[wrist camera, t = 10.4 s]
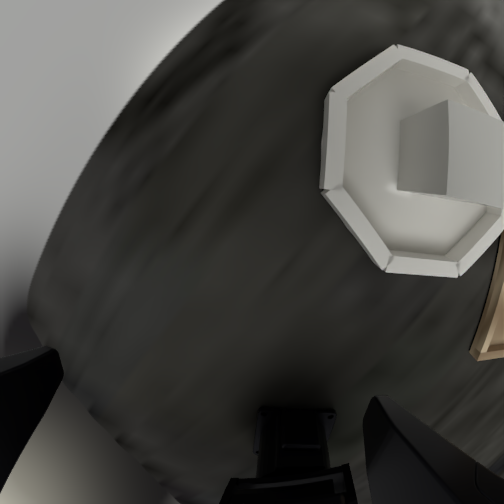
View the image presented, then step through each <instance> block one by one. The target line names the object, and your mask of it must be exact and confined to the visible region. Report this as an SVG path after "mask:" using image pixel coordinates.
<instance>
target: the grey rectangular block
mask: <svg viewBox="0 0 504 504" xmlns="http://www.w3.org/2000/svg"><path fill="white" fill-rule="evenodd" d="M397 190H398V191H405V192H410V193H416V194H422V195H427V196H433V197H438V198H443V199H448V200H455V201H461V202H467V203H473V204H479V205H484V206H490V207H495V208H500V209H503V207H504V122H503V121H500V120H498V119H496V118H494V117H492V116H489V115H487V114H485V113H482V112H480V111H478V110H475V109H473V108H470V107H468V106H465V105H462V104H460V103H457V102H454V101H452V100H449V99H447V100H445V101H442V102H440V103H438V104H436V105H433V106H431V107H429V108H427V109H424V110H422V111H420V112H418V113H416V114H413V115H411V116H409V117H407V118H405V119H403V120H401V121H400V145H399V166H398V181H397Z"/></svg>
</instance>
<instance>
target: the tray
mask: <svg viewBox="0 0 504 504" xmlns="http://www.w3.org/2000/svg"><path fill="white" fill-rule="evenodd" d="M469 353H470V354H471V355H472V356H473V357H474V358H475V359H476V360H477V361H481V360H488V359H495V358H501V357H504V230H503V231H502V232H501V238H500V244H499V250H498V255H497V260H496V265H495V270H494V274H493V278H492V282H491V286H490V290H489V294H488V297H487V301H486V304H485V308H484V311H483V314H482V318H481V321H480V324H479V327H478V330H477V332H476V335H475V338H474V341H473V343H472V346H471V349H470V351H469Z"/></svg>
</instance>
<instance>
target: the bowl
mask: <svg viewBox="0 0 504 504" xmlns="http://www.w3.org/2000/svg"><path fill="white" fill-rule="evenodd" d="M447 99H449V100H452V101H454V102H457V103H460V104H462V105H465V106H468V107H470V108H473V109H475V110H478V111H480V112H482V113H485V114H487V115H489V116H492V117H494V118H496V119H498V120H500V121H502V120H501V118H500V116H499V115H498V113H497V111H496V109H495V108H494V106H493V104H492V103H491V101H490V100H489V98H488V96H487V95H486V93H485V92H484V90H483V89H482V87H481V86H480V84H479V83H478V81H477V80H476V78H475V77H474V75H473V74H472V73H469V71H468V69H465V68H463V67H461V66H458V65H456V64H454V63H451V62H449V61H446V60H444V59H441V58H438V57H436V56H433V55H430V54H427V53H424V52H421V51H418V50H415V49H412V48H409V47H405V46H402V45H399V44H397V45H396V46H395V45H392V46H391V47H389V48H388V49H386V50H385V51H383V52H382V53H380V54H379V55H377V56H376V57H374V58H373V59H371V60H370V61H368V62H367V63H365V64H364V65H362V66H361V67H359V68H358V69H356V70H355V71H354V72H352V73H351V74H349V75H348V76H347V77H345V78H344V79H342V80H341V81H340V82H338V83H337V84H335V85H334V86H333V87H331V89H330V91H329V92H328V94H327V96H326V98H325V100H324V123H323V132H322V140H321V170H320V183H319V188H320V189H325V190H323V191H322V192H321V194H322V196H323V197H324V198H325V199H326V201H327V202H328V203H329V204H330V206H331V207H332V208H333V209H334V211H335V212H336V213H337V214H338V216H339V217H340V219H341V220H342V222H343V223H344V224H345V226H346V227H347V229H348V230H349V231H350V232H351V233H352V234H353V235H354V237H355V238H356V239H357V241H358V242H359V243H360V245H361V246H362V248H363V249H364V250H365V252H366V253H367V254H368V256H369V257H370V259H371V260H372V261H373V263H375V264H376V265H377V266H378V267H379V268H380V269H381V270H384V271H385V272H388V273H401V274H414V275H427V276H441V277H455V278H458V275H459V276H462V275H463V274H464V273H465V272H466V271H467V270H468V269H469V268H470V267H471V265H472V264H473V263H474V262H475V261H476V260H477V259H478V258H479V257H480V256H481V255H482V254H483V253H484V252H485V251H486V250H487V248H488V247H489V246H490V245H491V244H492V243H493V242H494V241H495V239H496V238H497V237H498V236H499V235H500V234H501V232H502V231H503V230H504V207H503V209H500V208H495V207H490V206H484V205H479V204H473V203H467V202H461V201H455V200H448V199H443V198H438V197H433V196H427V195H422V194H416V193H410V192H405V191H398V190H397V181H398V166H399V145H400V121H401V120H403V119H405V118H407V117H409V116H411V115H413V114H416V113H418V112H420V111H422V110H424V109H427V108H429V107H431V106H433V105H436V104H438V103H440V102H442V101H445V100H447Z"/></svg>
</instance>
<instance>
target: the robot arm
mask: <svg viewBox="0 0 504 504" xmlns="http://www.w3.org/2000/svg"><path fill="white" fill-rule="evenodd" d="M63 375H64V371H63V367H62V364H61V360H60V357H59V353H58V351H57V350H56V349H54V348H51V347H48V346H44V347H40V348H36V349H33V350H29V351H25V352H21V353H18V354H14V355H10V356H6V357H2V358H0V493H1V491H2V489H3V487H4V485H5V483H6V481H7V479H8V477H9V475H10V473H11V471H12V469H13V467H14V466H15V464H16V462H17V460H18V458H19V457H20V455H21V453H22V451H23V450H24V448H25V446H26V444H27V443H28V441H29V439H30V437H31V436H32V434H33V432H34V430H35V429H36V427H37V426H38V424H39V423H40V421H41V419H42V418H43V416H44V414H45V412H46V410H47V409H48V407H49V404H50V402H51V400H52V398H53V396H54V394H55V392H56V390H57V389H58V387H59V385H60V383H61V381H62V379H63ZM262 412H266V413H262ZM329 415H331V416H329ZM336 416H337V415H336V412H335V411H334V410H314V409H288V408H273V407H261V408H260V409H259V410H258V417H257V425H256V433H255V441H254V448H253V453H254V454H255V455H258V462H257V472H256V478H245V479H239V478H231V479H230V481H229V483H228V486H227V487H226V489H225V492H224V494H223V496H222V498H221V501H220V503H219V504H358V503H357V497H356V493H355V488H354V484H353V479H352V475H351V471H350V466H349V463H347V464H343V465H342V466H338V467H334V468H331V467H330V460H329V453H328V446H327V441H328V439H329V436H330V433H331V431H332V428H333V425H334V422H335V420H336ZM363 433H364V444H365V457H366V469H367V476H368V481H369V486H370V492H371V497H372V503H373V504H504V479H503V478H501V477H500V476H498V475H496V474H495V473H493V472H492V471H490V470H489V469H487V468H486V467H484V466H483V465H482V464H480V463H479V462H476V461H475V460H474V459H473V458H471V457H470V456H469V455H467V454H466V453H464V452H463V451H462V450H460V449H459V448H458V447H456V446H455V445H453V444H452V443H451V442H449V441H448V440H447V439H445V438H444V437H442V436H441V435H440V434H438V433H437V432H436V431H434V430H433V429H432V428H430V427H429V426H428V425H426V424H425V423H424V422H422V421H421V420H420V419H418V418H417V417H416V416H414V415H413V414H412V413H410V412H409V411H408V410H406V409H405V408H404V407H402V406H401V405H400V404H398V403H397V402H396V401H394V400H393V399H392V398H391V397H389V396H387V395H380V396H374V397H372V399H371V400H370V403H369V405H368V408H367V410H366V413H365V415H364V418H363Z"/></svg>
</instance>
